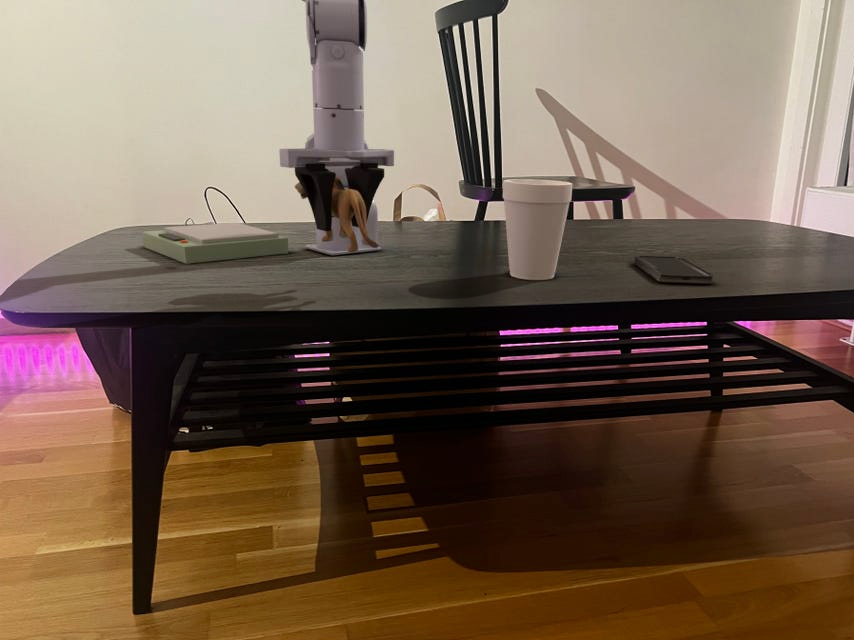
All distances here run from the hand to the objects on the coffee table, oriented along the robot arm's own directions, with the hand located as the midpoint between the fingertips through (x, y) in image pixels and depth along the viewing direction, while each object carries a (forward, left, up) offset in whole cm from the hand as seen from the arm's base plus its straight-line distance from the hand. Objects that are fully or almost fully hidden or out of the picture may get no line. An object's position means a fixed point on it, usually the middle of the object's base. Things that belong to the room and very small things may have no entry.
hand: (341, 228), depth 85 cm
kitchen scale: (+1, -33, -8) cm, 34 cm away
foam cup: (-27, +8, -8) cm, 29 cm away
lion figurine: (0, 0, -2) cm, 2 cm away
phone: (-46, +19, -8) cm, 50 cm away
